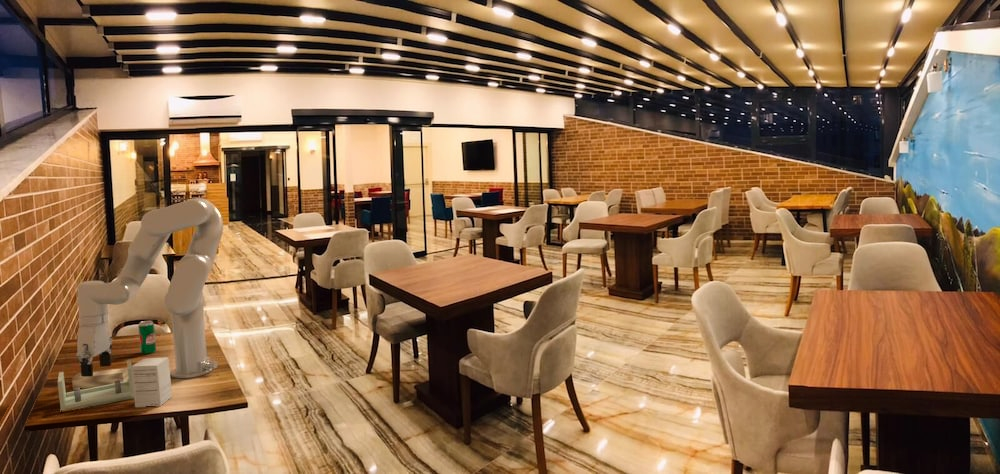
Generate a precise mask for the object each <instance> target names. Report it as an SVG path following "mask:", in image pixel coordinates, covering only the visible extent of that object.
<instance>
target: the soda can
mask: <svg viewBox="0 0 1000 474" xmlns="http://www.w3.org/2000/svg"><path fill="white" fill-rule="evenodd" d="M137 326H138V337H139V347H140V348H139V349H140V353H141V354H143V355H148V354H154V353H155V352H156V351H157V344H156V331H155V323H154V321H153V320H144V321H140V322H139V324H138V325H137Z"/></svg>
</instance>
